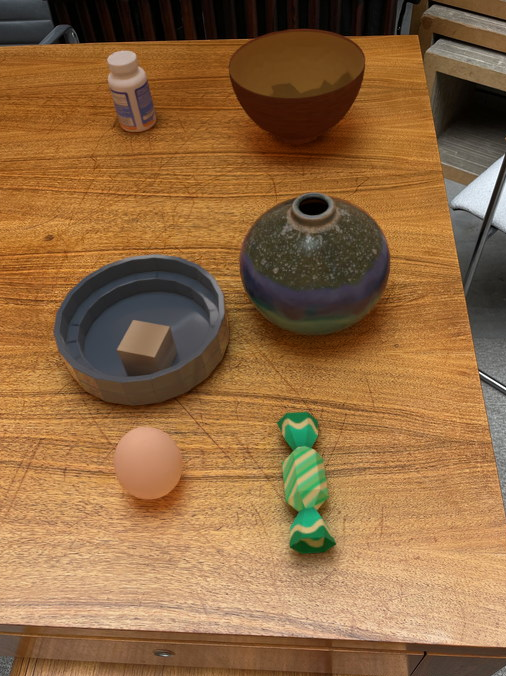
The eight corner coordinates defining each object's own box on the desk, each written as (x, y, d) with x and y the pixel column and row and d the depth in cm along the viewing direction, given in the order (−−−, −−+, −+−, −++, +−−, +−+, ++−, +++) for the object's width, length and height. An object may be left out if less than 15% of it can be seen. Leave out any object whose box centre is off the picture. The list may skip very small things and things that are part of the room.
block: (126, 374, 65) (116, 349, 61) (142, 345, 67) (133, 319, 64) (163, 382, 64) (154, 357, 61) (177, 351, 66) (170, 326, 63)
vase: (379, 366, 64) (390, 269, 53) (231, 350, 66) (213, 254, 56) (391, 261, 73) (402, 160, 62) (260, 250, 75) (249, 151, 65)
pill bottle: (153, 109, 95) (138, 44, 88) (160, 128, 92) (145, 62, 85) (117, 117, 95) (99, 52, 87) (123, 136, 92) (104, 70, 84)
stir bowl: (34, 367, 67) (18, 339, 63) (136, 265, 75) (127, 236, 72) (165, 435, 61) (155, 409, 57) (260, 316, 69) (256, 286, 66)
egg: (163, 443, 60) (145, 397, 54) (201, 482, 57) (187, 439, 51) (113, 482, 58) (88, 439, 52) (150, 525, 55) (128, 484, 49)
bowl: (380, 112, 92) (386, 41, 84) (329, 182, 83) (330, 110, 75) (273, 88, 97) (268, 20, 89) (213, 151, 88) (202, 81, 80)
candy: (270, 428, 59) (293, 405, 57) (301, 436, 61) (325, 414, 58) (281, 552, 52) (308, 533, 49) (316, 557, 54) (344, 539, 51)
